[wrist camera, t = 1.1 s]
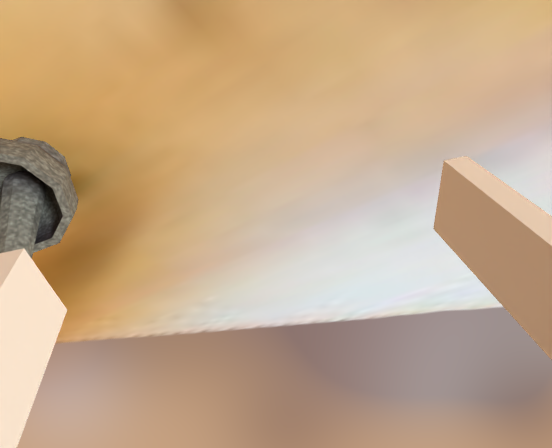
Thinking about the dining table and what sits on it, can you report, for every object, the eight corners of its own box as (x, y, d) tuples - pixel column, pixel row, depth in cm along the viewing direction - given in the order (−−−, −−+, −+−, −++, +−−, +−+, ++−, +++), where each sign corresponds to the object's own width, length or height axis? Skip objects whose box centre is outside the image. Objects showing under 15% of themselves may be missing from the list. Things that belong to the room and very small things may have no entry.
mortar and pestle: (-48, 120, 31) (-155, 189, 22) (70, 114, 33) (19, 176, 23) (7, 228, 38) (-57, 318, 28) (103, 219, 39) (74, 302, 30)
